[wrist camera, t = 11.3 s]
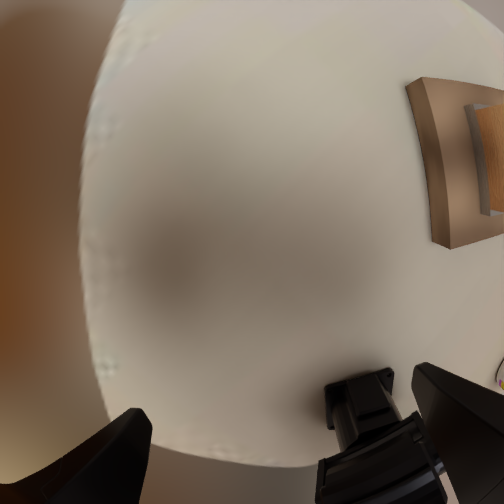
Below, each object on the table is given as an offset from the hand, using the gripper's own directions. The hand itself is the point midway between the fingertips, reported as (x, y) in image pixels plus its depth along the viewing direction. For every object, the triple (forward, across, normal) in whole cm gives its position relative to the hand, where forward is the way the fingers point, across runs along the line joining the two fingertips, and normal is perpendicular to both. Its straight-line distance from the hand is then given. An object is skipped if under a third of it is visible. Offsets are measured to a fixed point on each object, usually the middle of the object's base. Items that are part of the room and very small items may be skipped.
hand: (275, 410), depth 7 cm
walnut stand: (+12, -19, -6) cm, 23 cm away
